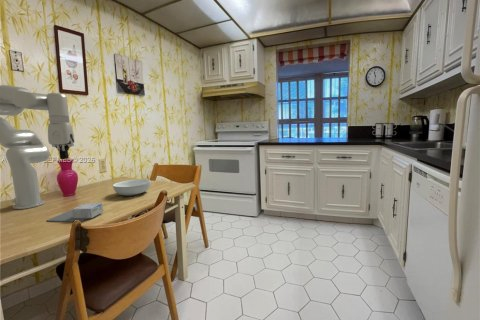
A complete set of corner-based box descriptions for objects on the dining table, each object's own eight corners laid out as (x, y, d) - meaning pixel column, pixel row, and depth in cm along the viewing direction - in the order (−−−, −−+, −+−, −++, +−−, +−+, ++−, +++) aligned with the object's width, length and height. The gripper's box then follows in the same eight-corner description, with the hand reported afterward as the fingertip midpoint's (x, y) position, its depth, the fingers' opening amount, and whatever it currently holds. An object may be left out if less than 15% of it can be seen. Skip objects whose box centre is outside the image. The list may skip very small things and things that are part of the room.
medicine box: (72, 218, 102) (91, 218, 101) (71, 208, 101) (90, 208, 101) (85, 212, 110) (103, 212, 109) (84, 202, 109) (102, 202, 109)
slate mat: (46, 221, 101) (46, 220, 101) (73, 210, 115) (73, 209, 115) (80, 222, 99) (80, 221, 99) (103, 210, 113) (103, 209, 113)
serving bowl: (155, 188, 154) (154, 178, 153) (144, 197, 133) (143, 185, 132) (122, 190, 152) (121, 179, 151) (106, 199, 132) (105, 187, 131)
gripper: (38, 120, 109) (43, 160, 111) (67, 119, 107) (72, 159, 109) (52, 121, 116) (57, 158, 118) (80, 120, 114) (84, 157, 117)
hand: (64, 158), depth 114 cm, fingers closed
